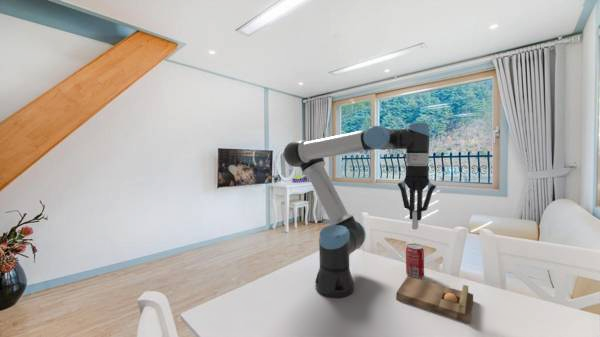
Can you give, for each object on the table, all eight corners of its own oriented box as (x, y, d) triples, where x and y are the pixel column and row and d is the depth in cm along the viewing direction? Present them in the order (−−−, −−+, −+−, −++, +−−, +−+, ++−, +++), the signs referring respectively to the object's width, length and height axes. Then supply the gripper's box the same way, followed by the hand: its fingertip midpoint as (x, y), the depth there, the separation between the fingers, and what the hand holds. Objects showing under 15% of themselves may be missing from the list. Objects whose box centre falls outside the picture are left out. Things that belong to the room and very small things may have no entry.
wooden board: (396, 299, 89) (396, 285, 89) (407, 282, 101) (407, 270, 100) (470, 323, 75) (470, 308, 75) (473, 301, 87) (473, 287, 87)
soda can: (426, 280, 102) (426, 249, 102) (407, 278, 104) (407, 248, 103) (421, 272, 109) (421, 243, 108) (404, 271, 110) (404, 242, 110)
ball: (441, 303, 85) (445, 293, 84) (443, 298, 88) (446, 288, 87) (454, 310, 82) (458, 300, 82) (455, 305, 86) (459, 295, 85)
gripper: (395, 165, 92) (394, 227, 93) (434, 166, 83) (432, 234, 85) (401, 164, 97) (400, 223, 99) (438, 165, 89) (436, 229, 91)
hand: (415, 228), depth 92 cm, fingers closed
